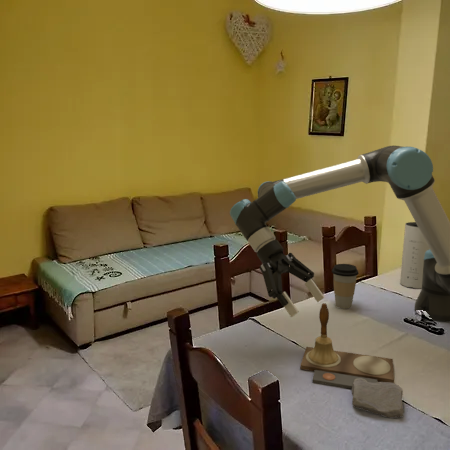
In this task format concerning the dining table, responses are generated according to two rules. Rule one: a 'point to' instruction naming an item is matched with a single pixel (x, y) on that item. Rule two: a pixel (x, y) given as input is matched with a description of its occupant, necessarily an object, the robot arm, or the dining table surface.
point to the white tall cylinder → (413, 256)
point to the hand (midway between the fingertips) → (308, 307)
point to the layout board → (354, 366)
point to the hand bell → (323, 342)
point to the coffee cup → (344, 284)
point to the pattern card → (337, 379)
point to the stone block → (378, 398)
